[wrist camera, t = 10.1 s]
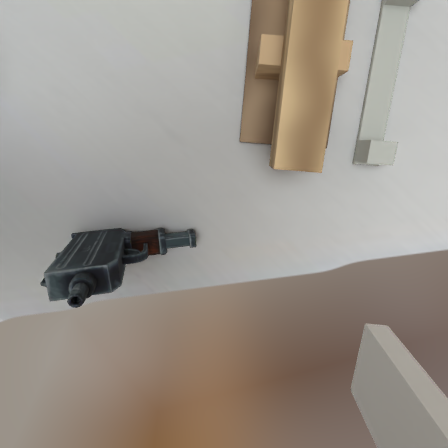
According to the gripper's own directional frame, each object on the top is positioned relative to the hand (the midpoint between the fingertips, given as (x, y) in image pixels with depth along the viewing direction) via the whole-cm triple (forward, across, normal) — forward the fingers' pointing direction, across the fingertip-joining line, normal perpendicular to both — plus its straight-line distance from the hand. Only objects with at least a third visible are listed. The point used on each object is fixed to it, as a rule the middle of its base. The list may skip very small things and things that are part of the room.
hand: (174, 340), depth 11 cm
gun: (+29, -10, -6) cm, 31 cm away
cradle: (+29, +17, +15) cm, 37 cm away
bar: (+21, +7, +15) cm, 27 cm away
